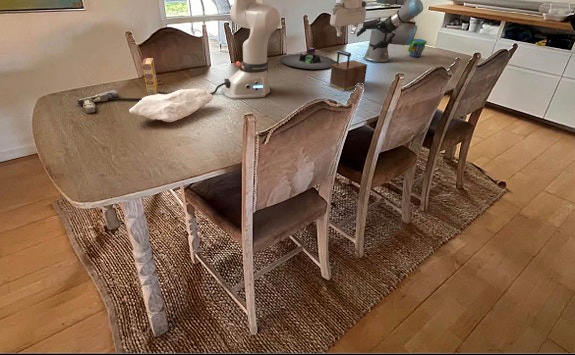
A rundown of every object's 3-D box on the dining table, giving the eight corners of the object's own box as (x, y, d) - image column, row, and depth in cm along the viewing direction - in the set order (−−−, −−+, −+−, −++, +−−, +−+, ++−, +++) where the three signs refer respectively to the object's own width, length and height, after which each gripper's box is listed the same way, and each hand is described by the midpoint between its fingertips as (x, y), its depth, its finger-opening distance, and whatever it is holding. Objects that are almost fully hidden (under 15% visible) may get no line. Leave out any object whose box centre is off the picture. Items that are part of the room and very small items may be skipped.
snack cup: (416, 52, 253) (419, 37, 248) (428, 56, 246) (432, 40, 240) (401, 55, 246) (404, 39, 240) (413, 59, 238) (416, 43, 233)
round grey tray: (348, 64, 220) (349, 48, 215) (302, 72, 202) (302, 55, 198) (313, 55, 244) (313, 41, 240) (269, 61, 227) (268, 46, 222)
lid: (344, 71, 175) (346, 54, 171) (330, 66, 182) (332, 50, 177) (367, 66, 184) (369, 50, 180) (352, 61, 190) (354, 46, 186)
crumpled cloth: (117, 110, 146) (113, 90, 140) (195, 92, 166) (194, 73, 160) (143, 139, 134) (140, 118, 128) (223, 116, 154) (224, 96, 148)
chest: (343, 91, 181) (346, 71, 176) (329, 85, 187) (331, 66, 182) (364, 85, 189) (367, 66, 184) (350, 80, 196) (352, 61, 191)
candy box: (157, 97, 164) (152, 63, 155) (147, 98, 163) (141, 63, 155) (158, 91, 171) (153, 57, 163) (149, 91, 170) (143, 58, 162)
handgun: (128, 97, 156) (111, 87, 164) (86, 107, 144) (70, 97, 152) (129, 103, 157) (113, 94, 165) (88, 114, 146) (72, 103, 154)
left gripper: (338, 5, 157) (335, 38, 164) (369, 2, 168) (365, 34, 175) (328, 3, 161) (325, 36, 168) (359, 0, 172) (355, 31, 179)
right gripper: (378, 12, 187) (349, 33, 204) (409, 40, 199) (379, 58, 215) (380, 1, 190) (351, 24, 207) (410, 30, 202) (380, 48, 218)
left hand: (346, 35), depth 172 cm, fingers open, 8 cm apart
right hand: (365, 41), depth 211 cm, fingers open, 13 cm apart
